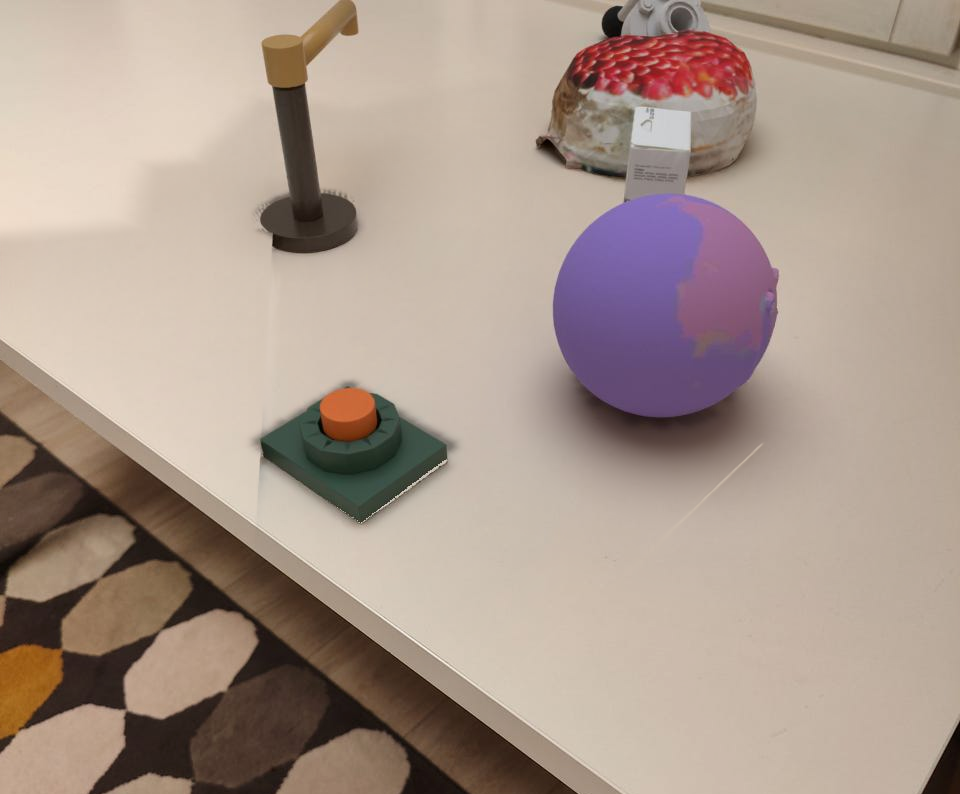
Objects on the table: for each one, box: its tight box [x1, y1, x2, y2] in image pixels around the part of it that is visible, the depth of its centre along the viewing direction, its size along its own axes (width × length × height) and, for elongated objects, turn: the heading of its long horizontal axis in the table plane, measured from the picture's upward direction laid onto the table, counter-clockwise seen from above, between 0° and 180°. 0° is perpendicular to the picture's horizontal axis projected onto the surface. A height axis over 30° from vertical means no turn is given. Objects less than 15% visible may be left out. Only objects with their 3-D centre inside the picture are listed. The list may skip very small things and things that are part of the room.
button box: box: [259, 385, 448, 524], centre depth 64 cm, size 10×8×4 cm
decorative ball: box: [552, 194, 780, 418], centre depth 65 cm, size 15×15×15 cm
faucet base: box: [259, 82, 359, 254], centre depth 85 cm, size 9×9×14 cm
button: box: [320, 387, 377, 442], centre depth 62 cm, size 4×4×2 cm
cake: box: [535, 30, 758, 179], centre depth 101 cm, size 23×24×10 cm
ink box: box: [623, 106, 691, 203], centre depth 81 cm, size 8×5×12 cm, turn 170°
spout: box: [261, 0, 359, 88], centre depth 85 cm, size 19×3×4 cm, turn 168°
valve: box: [601, 0, 711, 39], centre depth 119 cm, size 10×20×15 cm
